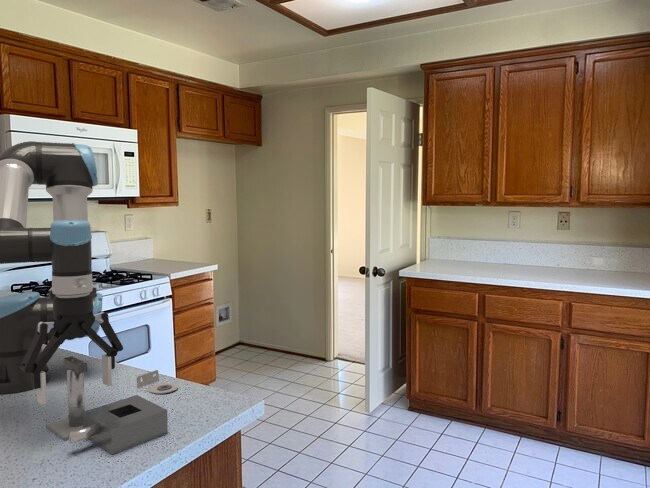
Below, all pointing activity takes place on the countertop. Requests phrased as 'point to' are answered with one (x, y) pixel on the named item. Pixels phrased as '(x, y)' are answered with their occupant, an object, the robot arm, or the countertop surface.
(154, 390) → the bracket
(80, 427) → the mat
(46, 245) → the robot arm
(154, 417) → the block
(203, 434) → the countertop surface
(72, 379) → the chuck key
